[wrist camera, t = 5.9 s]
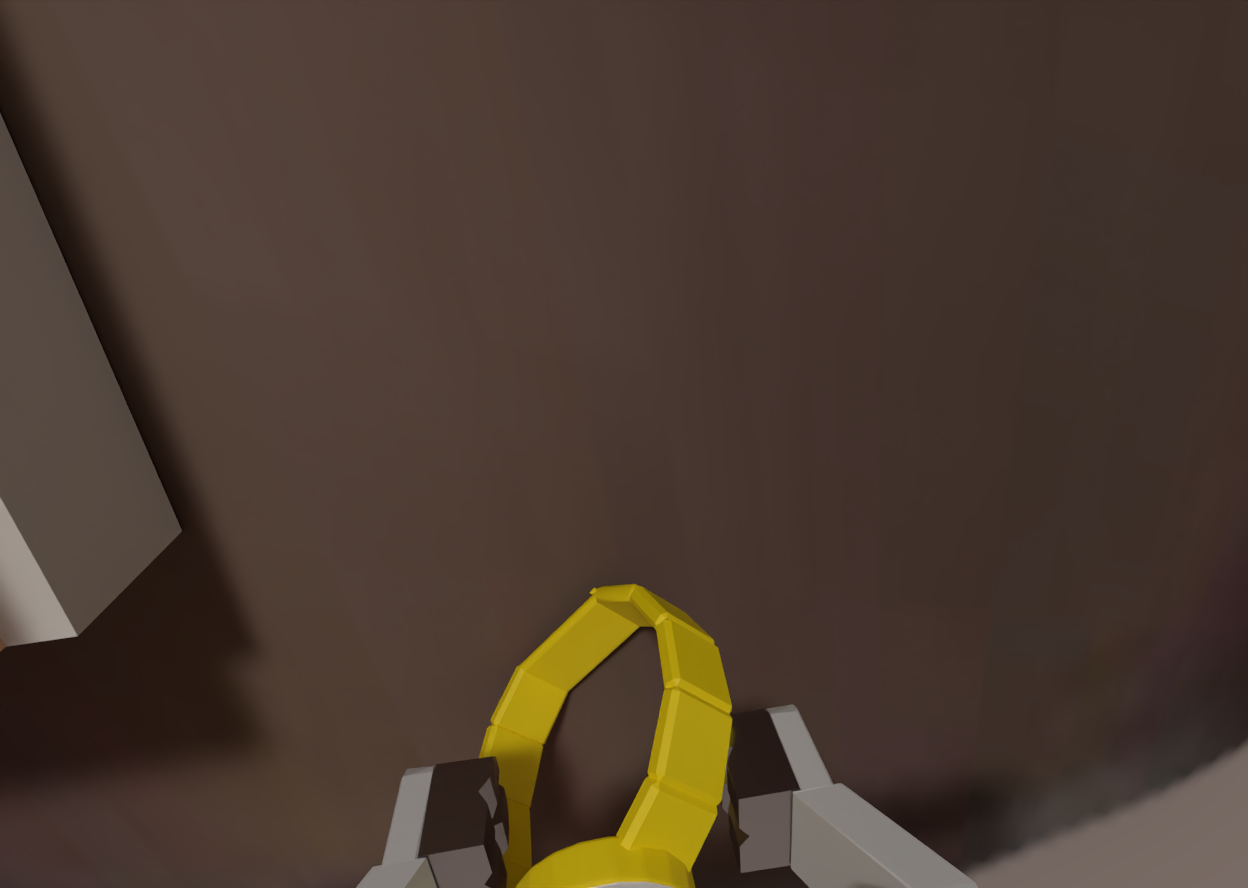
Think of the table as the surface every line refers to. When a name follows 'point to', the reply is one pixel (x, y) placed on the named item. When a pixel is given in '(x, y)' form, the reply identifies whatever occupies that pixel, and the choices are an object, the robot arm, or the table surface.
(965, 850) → the table surface
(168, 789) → the table surface
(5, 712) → the table surface
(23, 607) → the motor
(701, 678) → the watch
